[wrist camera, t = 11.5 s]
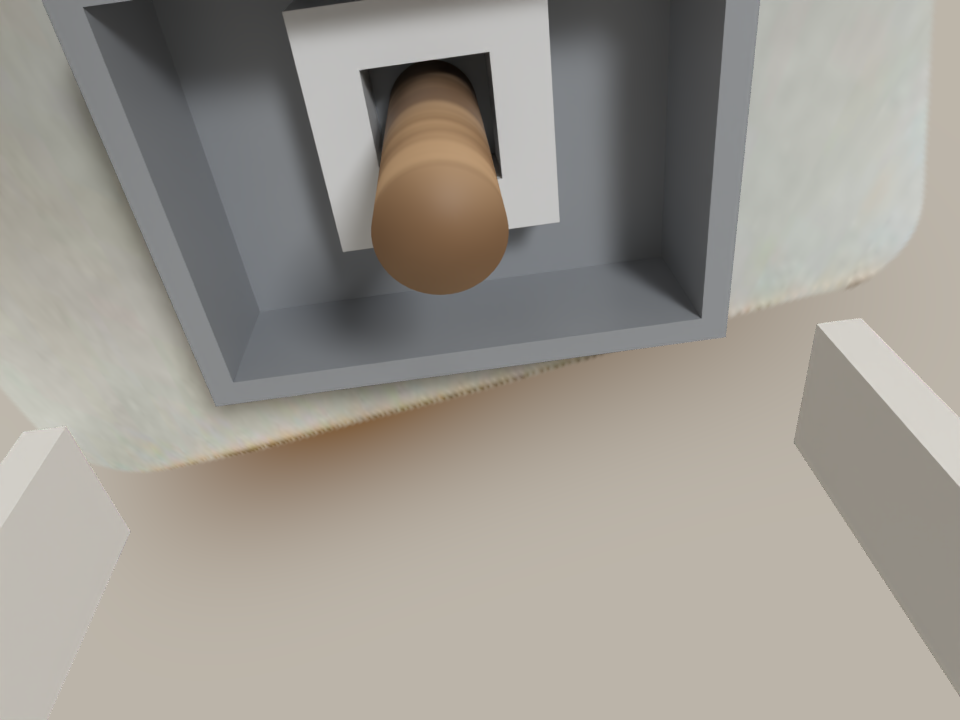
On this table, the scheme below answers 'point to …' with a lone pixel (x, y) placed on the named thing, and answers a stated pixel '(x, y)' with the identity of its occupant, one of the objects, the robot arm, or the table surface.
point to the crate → (356, 161)
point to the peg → (437, 185)
